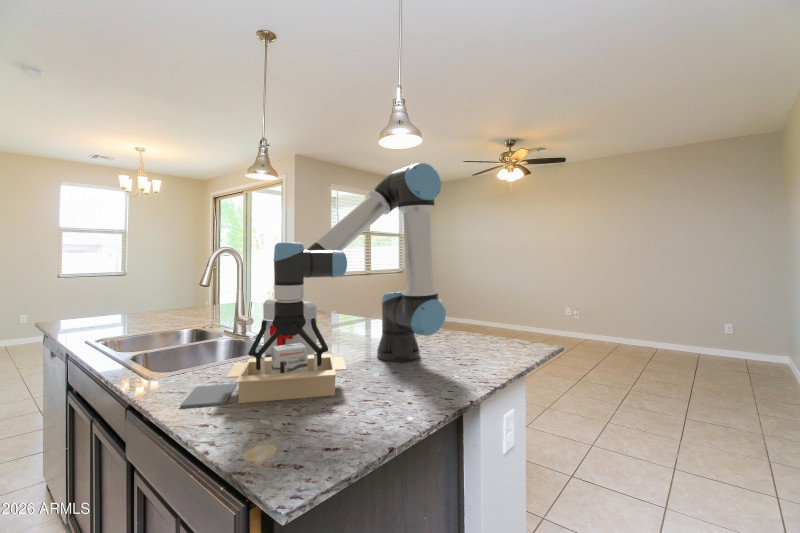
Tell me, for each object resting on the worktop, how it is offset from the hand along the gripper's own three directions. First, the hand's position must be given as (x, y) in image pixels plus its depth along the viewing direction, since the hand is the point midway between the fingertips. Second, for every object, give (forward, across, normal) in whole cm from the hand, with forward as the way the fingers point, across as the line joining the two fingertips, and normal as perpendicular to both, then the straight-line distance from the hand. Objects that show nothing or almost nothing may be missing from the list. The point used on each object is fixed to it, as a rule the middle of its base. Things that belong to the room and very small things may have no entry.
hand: (289, 379), depth 101 cm
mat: (+3, +20, 0) cm, 20 cm away
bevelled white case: (+3, +2, -32) cm, 32 cm away
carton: (+3, 0, 0) cm, 3 cm away
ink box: (+3, 0, 0) cm, 3 cm away
